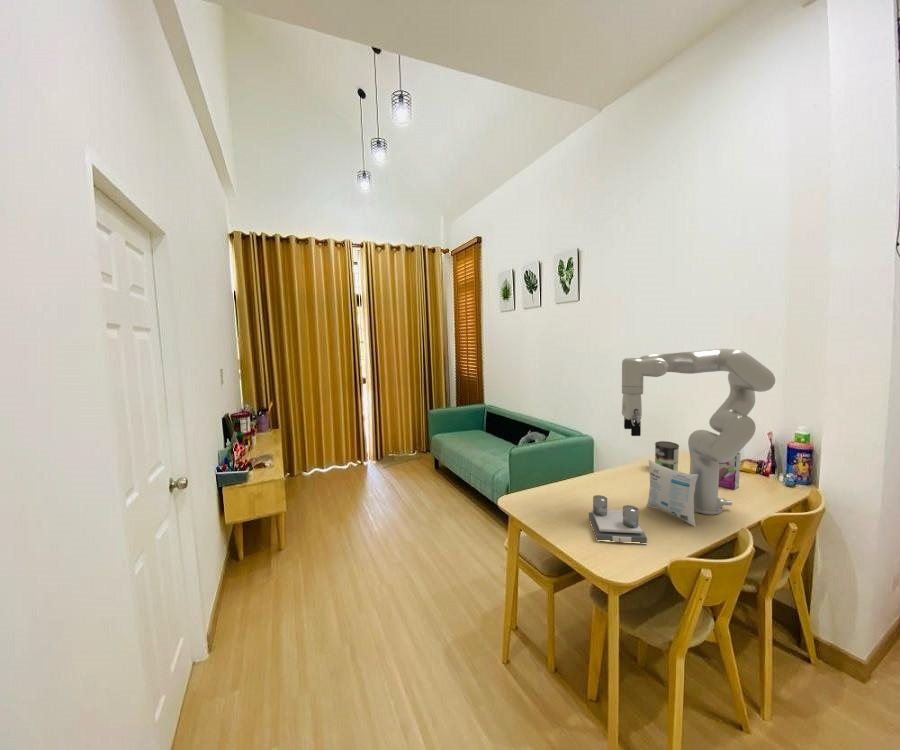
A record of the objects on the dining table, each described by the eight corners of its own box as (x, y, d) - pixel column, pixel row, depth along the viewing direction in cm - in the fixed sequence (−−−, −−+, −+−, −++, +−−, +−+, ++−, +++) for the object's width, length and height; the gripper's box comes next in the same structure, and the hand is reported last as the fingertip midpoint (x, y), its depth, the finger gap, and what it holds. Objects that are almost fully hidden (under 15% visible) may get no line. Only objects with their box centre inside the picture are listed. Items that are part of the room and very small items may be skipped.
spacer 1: (605, 510, 141) (605, 495, 141) (608, 516, 136) (608, 501, 136) (592, 509, 142) (591, 495, 142) (594, 516, 137) (594, 501, 137)
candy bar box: (706, 482, 170) (707, 448, 168) (710, 479, 173) (711, 446, 171) (735, 490, 161) (736, 454, 159) (739, 487, 164) (741, 451, 162)
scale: (632, 520, 141) (632, 510, 140) (647, 545, 125) (647, 534, 124) (588, 518, 144) (588, 508, 143) (597, 542, 128) (597, 531, 127)
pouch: (687, 530, 133) (689, 477, 130) (641, 508, 150) (642, 460, 148) (702, 524, 136) (703, 472, 133) (654, 503, 153) (655, 457, 151)
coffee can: (663, 476, 179) (664, 448, 178) (650, 468, 189) (650, 442, 188) (683, 474, 180) (684, 446, 179) (668, 466, 190) (669, 440, 189)
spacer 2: (621, 520, 133) (621, 504, 133) (635, 521, 132) (636, 505, 132) (624, 527, 129) (625, 511, 128) (640, 528, 128) (640, 512, 127)
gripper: (616, 386, 152) (616, 426, 155) (628, 393, 136) (628, 438, 138) (635, 386, 151) (635, 426, 153) (650, 393, 134) (649, 438, 136)
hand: (632, 432), depth 145 cm, fingers open, 9 cm apart
